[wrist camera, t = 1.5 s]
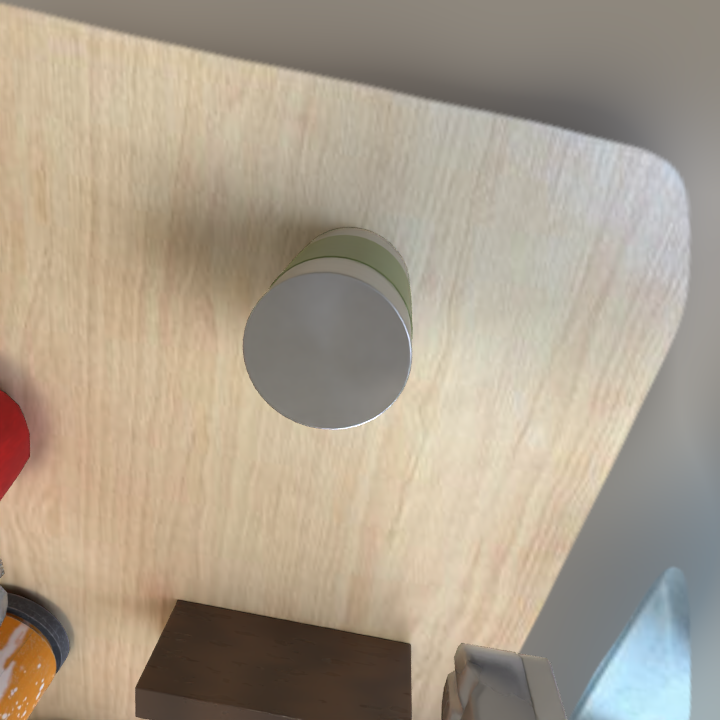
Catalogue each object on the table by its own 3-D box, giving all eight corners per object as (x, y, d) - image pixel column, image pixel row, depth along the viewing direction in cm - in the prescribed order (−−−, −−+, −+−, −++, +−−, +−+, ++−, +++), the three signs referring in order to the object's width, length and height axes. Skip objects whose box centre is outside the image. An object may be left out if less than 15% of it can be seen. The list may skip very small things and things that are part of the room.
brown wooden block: (411, 643, 40) (412, 741, 34) (396, 691, 42) (395, 790, 36) (177, 599, 40) (134, 687, 34) (175, 649, 42) (134, 740, 36)
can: (387, 208, 28) (379, 244, 19) (426, 322, 30) (435, 405, 21) (272, 250, 29) (211, 304, 20) (318, 357, 32) (282, 449, 22)
